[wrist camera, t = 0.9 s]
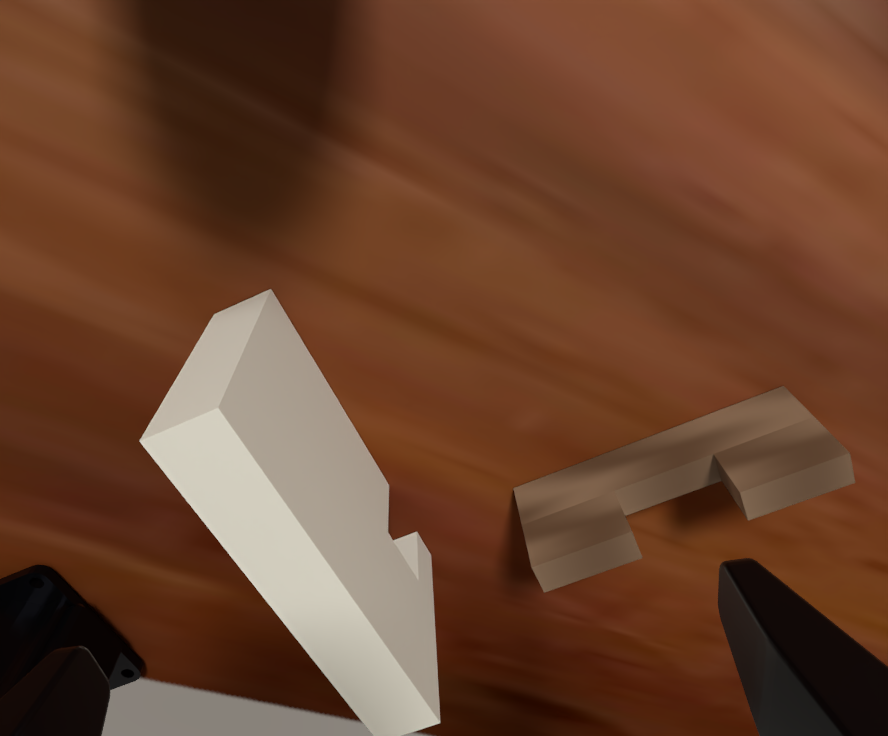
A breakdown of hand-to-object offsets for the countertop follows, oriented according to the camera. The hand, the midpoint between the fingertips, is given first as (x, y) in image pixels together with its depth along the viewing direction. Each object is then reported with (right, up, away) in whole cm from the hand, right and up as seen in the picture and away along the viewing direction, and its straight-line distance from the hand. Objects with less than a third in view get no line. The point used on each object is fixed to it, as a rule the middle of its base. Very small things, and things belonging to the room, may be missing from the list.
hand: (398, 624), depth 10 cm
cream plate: (-3, +1, +14) cm, 15 cm away
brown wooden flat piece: (+8, +1, +15) cm, 17 cm away
